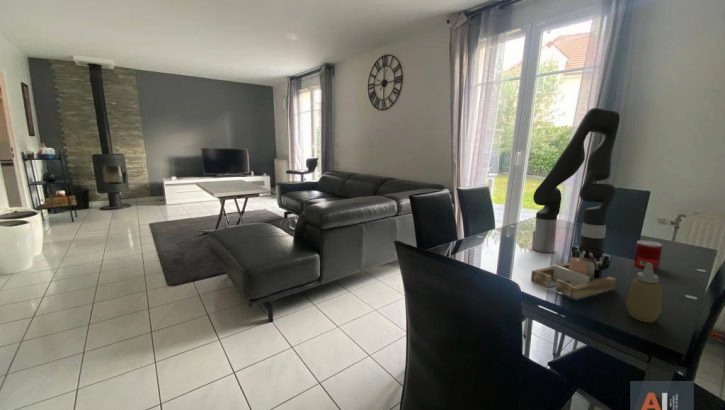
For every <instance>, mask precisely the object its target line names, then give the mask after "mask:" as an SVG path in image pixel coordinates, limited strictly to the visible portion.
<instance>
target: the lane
mask: <svg viewBox="0 0 725 410" xmlns="http://www.w3.org/2000/svg"><path fill="white" fill-rule="evenodd" d="M569 262H570V261H569ZM569 262H564V263H559V264H557V265H558V266H561V267H564V268H566V269H569ZM553 271H554V265H552V266H551V265H550V266H547V267H542V268H538V269H533V270H531V277H530V278H531V279H530V281H531V282H532V283H534V284H537V285H538V284H539V286H541V285H542V286H541V287H543V286H544V287H543V288H545V286H549V285H551V281H552V280H554V279H553ZM555 281H556V280H555ZM616 282H617V279H616V277H612V276H607V277H603V278H598V279H597V280H595V281H592V282H588V283H584V284H581V285H577V286H573V285H571V284H569V283H567V282H564V281H562V280H559V279H558V280H557V281H556V283H555V284H556V287H555V292H556V291H558V292H561V293H563V294H566V295H568V296H571V297H574V298H576V299H577V298H583V297H587V296H590V295H594V294H597V293H601V292H603V291H608V290H611V289H615V288H616Z"/></svg>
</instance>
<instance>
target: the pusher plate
mask: <svg viewBox="0 0 725 410" xmlns="http://www.w3.org/2000/svg"><path fill="white" fill-rule="evenodd" d="M558 265H559V264H554V265H553V266H554V271H553V279H552V280H554V281H557V280H558V279H559V280H562V281H564V282H567V283H569V284H571V285H573V286H577V285H581V284H584V283H588V282H589V279H590V277H589V276H586V275H583V274H580V273H577V272H575V271H572V270H569V269H566V268H564V267H561V266H558ZM544 288H545V289H546V290H548V289H549V288H550V289H551V288H556V283H554V284H550V285H549V286H545V287H544Z"/></svg>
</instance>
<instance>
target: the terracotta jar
mask: <svg viewBox="0 0 725 410" xmlns="http://www.w3.org/2000/svg"><path fill="white" fill-rule="evenodd" d="M579 257H580V256H579ZM579 257H569V270H572V271H575V272H577V273H580V274H583V275H586V276H587V274H588V265H589V261H588V260H587V259H584V258H579Z"/></svg>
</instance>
